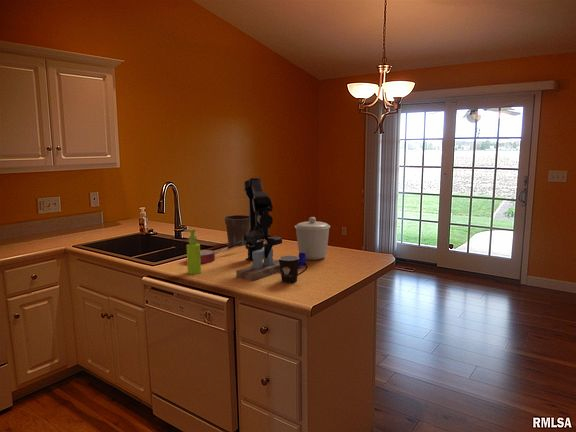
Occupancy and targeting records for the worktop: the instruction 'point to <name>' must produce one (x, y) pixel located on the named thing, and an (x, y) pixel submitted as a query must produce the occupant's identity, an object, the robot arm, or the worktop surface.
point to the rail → (258, 271)
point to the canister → (312, 238)
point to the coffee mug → (289, 268)
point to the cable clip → (302, 259)
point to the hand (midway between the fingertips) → (263, 257)
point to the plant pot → (237, 228)
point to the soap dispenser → (193, 254)
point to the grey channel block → (258, 257)
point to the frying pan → (213, 253)
